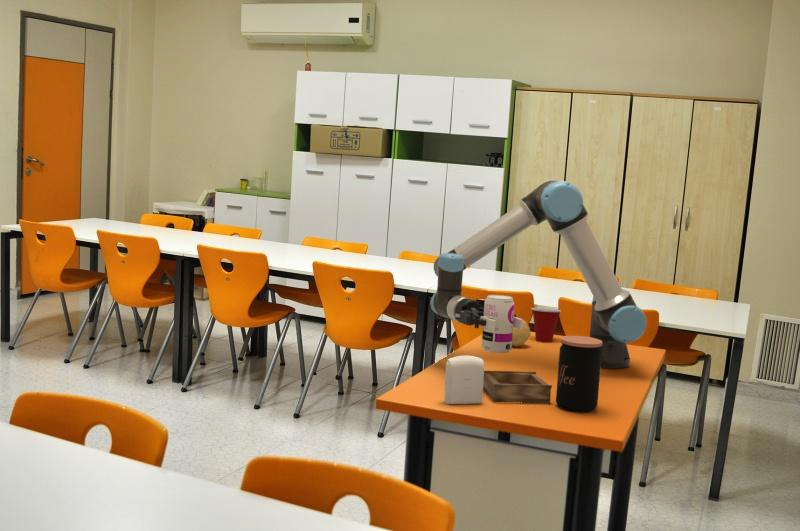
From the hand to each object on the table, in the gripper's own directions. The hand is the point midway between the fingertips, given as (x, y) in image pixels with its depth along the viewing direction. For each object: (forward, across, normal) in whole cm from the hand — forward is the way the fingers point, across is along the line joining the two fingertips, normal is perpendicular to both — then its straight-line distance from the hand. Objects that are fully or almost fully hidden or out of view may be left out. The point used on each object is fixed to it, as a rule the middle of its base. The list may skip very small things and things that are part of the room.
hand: (507, 325), depth 234 cm
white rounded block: (+6, +16, -19) cm, 26 cm away
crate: (+3, -2, -19) cm, 19 cm away
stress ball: (-53, -40, -19) cm, 69 cm away
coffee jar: (+18, -11, -19) cm, 28 cm away
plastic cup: (-59, -57, -19) cm, 84 cm away
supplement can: (-5, 0, -8) cm, 10 cm away
